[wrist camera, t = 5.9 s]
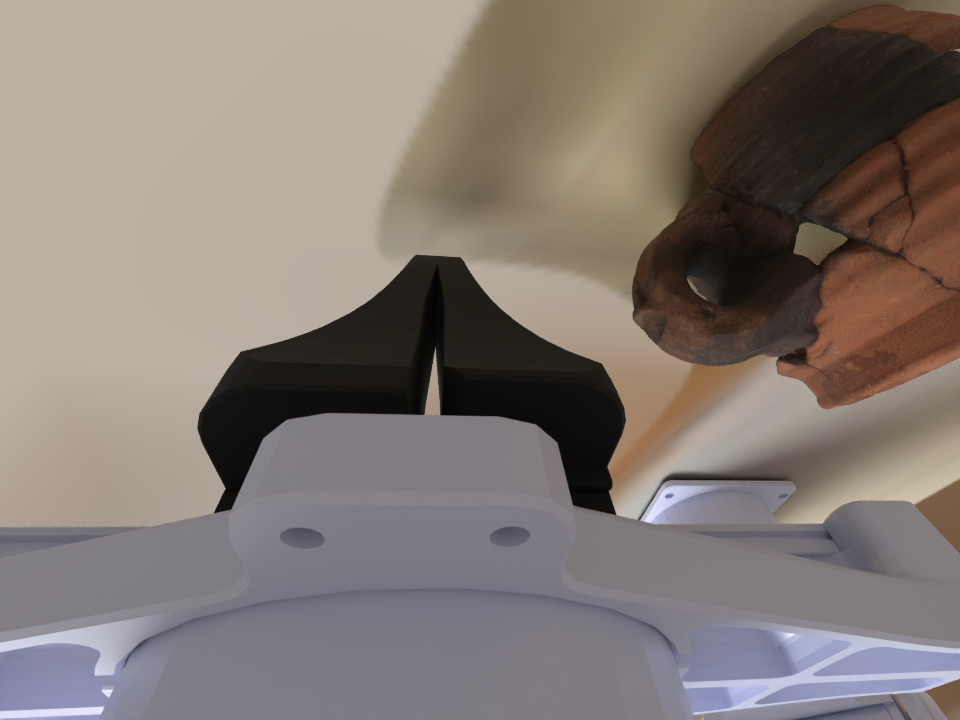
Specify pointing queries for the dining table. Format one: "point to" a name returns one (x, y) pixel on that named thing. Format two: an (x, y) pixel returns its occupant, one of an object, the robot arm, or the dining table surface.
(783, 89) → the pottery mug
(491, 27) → the dining table surface
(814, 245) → the dining table surface
